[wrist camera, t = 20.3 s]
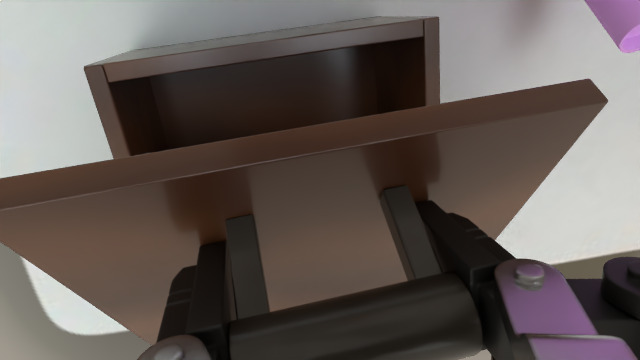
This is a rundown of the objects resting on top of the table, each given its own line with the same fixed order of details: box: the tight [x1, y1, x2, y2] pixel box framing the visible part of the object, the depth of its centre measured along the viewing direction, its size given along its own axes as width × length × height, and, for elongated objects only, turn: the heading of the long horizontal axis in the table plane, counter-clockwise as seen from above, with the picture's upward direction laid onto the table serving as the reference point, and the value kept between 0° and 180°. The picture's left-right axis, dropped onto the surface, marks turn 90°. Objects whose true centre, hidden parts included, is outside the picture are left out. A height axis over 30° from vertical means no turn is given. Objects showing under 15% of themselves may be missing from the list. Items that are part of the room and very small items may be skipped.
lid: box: [0, 79, 608, 360], centre depth 14 cm, size 14×14×5 cm
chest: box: [84, 17, 440, 159], centre depth 22 cm, size 13×14×8 cm
